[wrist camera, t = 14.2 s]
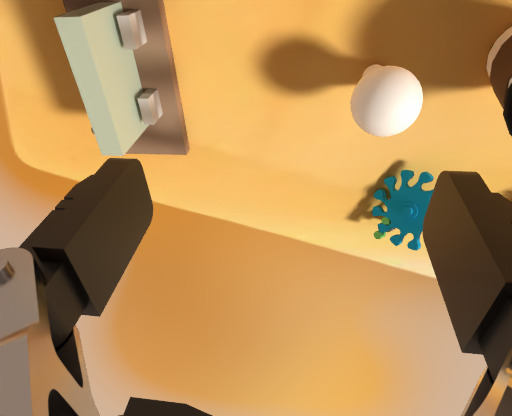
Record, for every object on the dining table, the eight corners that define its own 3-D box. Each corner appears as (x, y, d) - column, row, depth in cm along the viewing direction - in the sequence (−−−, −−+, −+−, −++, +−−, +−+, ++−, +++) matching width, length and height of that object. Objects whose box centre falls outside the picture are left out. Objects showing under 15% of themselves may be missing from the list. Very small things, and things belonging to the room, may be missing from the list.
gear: (417, 153, 41) (471, 226, 38) (436, 151, 45) (486, 217, 42) (350, 203, 49) (391, 268, 46) (371, 198, 53) (410, 257, 50)
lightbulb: (332, 77, 39) (338, 118, 30) (376, 30, 36) (398, 62, 27) (370, 112, 41) (386, 160, 32) (415, 70, 37) (447, 112, 29)
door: (85, 2, 36) (37, 18, 30) (121, 1, 35) (80, 16, 29) (121, 123, 44) (89, 155, 38) (150, 123, 43) (123, 155, 37)
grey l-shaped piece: (53, -55, 34) (-37, -50, 25) (152, -61, 33) (93, -57, 24) (117, 147, 48) (73, 197, 39) (189, 149, 47) (161, 201, 38)
